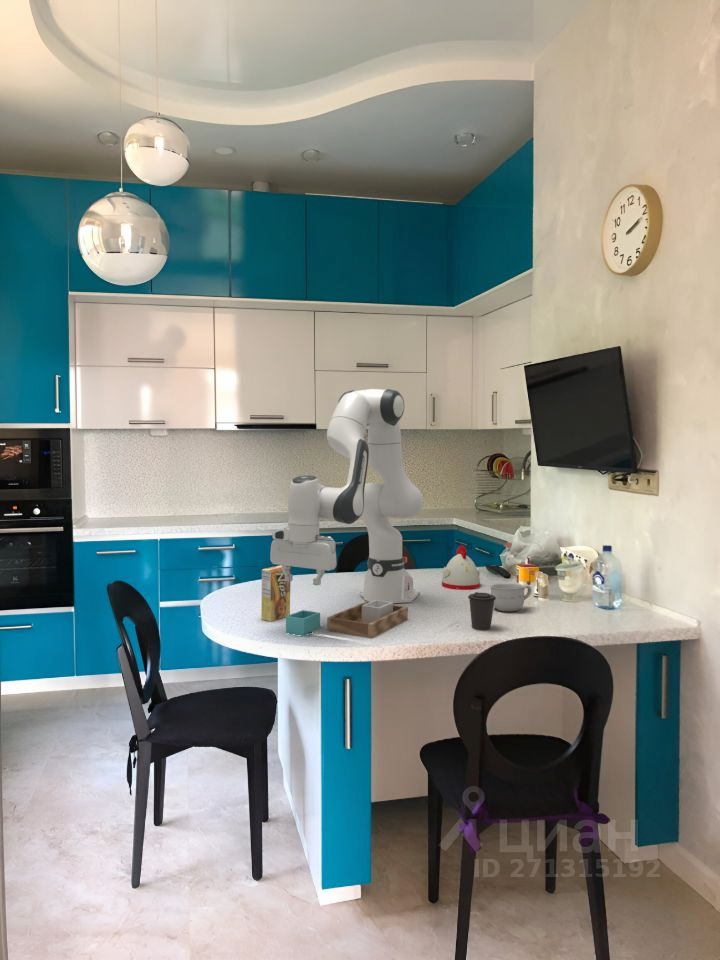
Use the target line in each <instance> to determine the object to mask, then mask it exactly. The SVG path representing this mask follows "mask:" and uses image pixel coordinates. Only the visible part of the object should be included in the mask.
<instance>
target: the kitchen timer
mask: <svg viewBox="0 0 720 960" xmlns="http://www.w3.org/2000/svg"><path fill="white" fill-rule="evenodd" d="M467 554H468V551H467V548H466V546H464V545H459V547H457V549H456V555H454V556H453V557H452V558H451V559H450V560H449V561H448V563H447V565H445V566H443V570H442V577H441V586H442V587H443V588H446V589H449V590H456V591H460V590H461V591H471V590H473V591H474V590H477V589H480V588H481V587H480V586H481V580H480V578H481V577H480V576H481V575H480V569H479V568H480V567H477V566H476V564H475V562H474V561H473V559H472V558H470V557H469V556H468V555H467Z"/></svg>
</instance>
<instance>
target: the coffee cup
mask: <svg viewBox="0 0 720 960" xmlns="http://www.w3.org/2000/svg"><path fill="white" fill-rule="evenodd" d="M467 598H468V599H469V609H470V621H471V628H472V629H473V630H477V631H489V630H491V629H492V628H491V627H492V620H493V612H494V600H496V598H495V596H494V595H491V593H487V592H479V591H477V592H474V593H471V594H469V595H468V596H467Z"/></svg>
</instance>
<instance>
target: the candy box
mask: <svg viewBox="0 0 720 960" xmlns="http://www.w3.org/2000/svg"><path fill="white" fill-rule="evenodd" d="M291 567H292V566H290V568H288V569H289V572H290V574H291V573H292V571H291V569H292V568H291ZM291 575H292V574H291ZM288 615H291V581H290V582H289V581H285V575H284V573H283V571H282V565H277V566H271V567H267V568H263V569H261V615H260V616H261V620H262V619H263V620H262V621H266V620H267V622H273V621H277V620H280V619H282V618H283V619H285V618H286V616H288Z"/></svg>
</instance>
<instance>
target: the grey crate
mask: <svg viewBox="0 0 720 960" xmlns="http://www.w3.org/2000/svg"><path fill="white" fill-rule="evenodd" d="M368 602H369V603H367V604H364V605H362V622H365V623H372V622H374V621H376V620H378V619H380V618H382V617H384V616H386V615H388V614H391V613H393V605H394V603H393V602H388V601H380V600H374V601H371V602H370V601H368Z"/></svg>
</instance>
